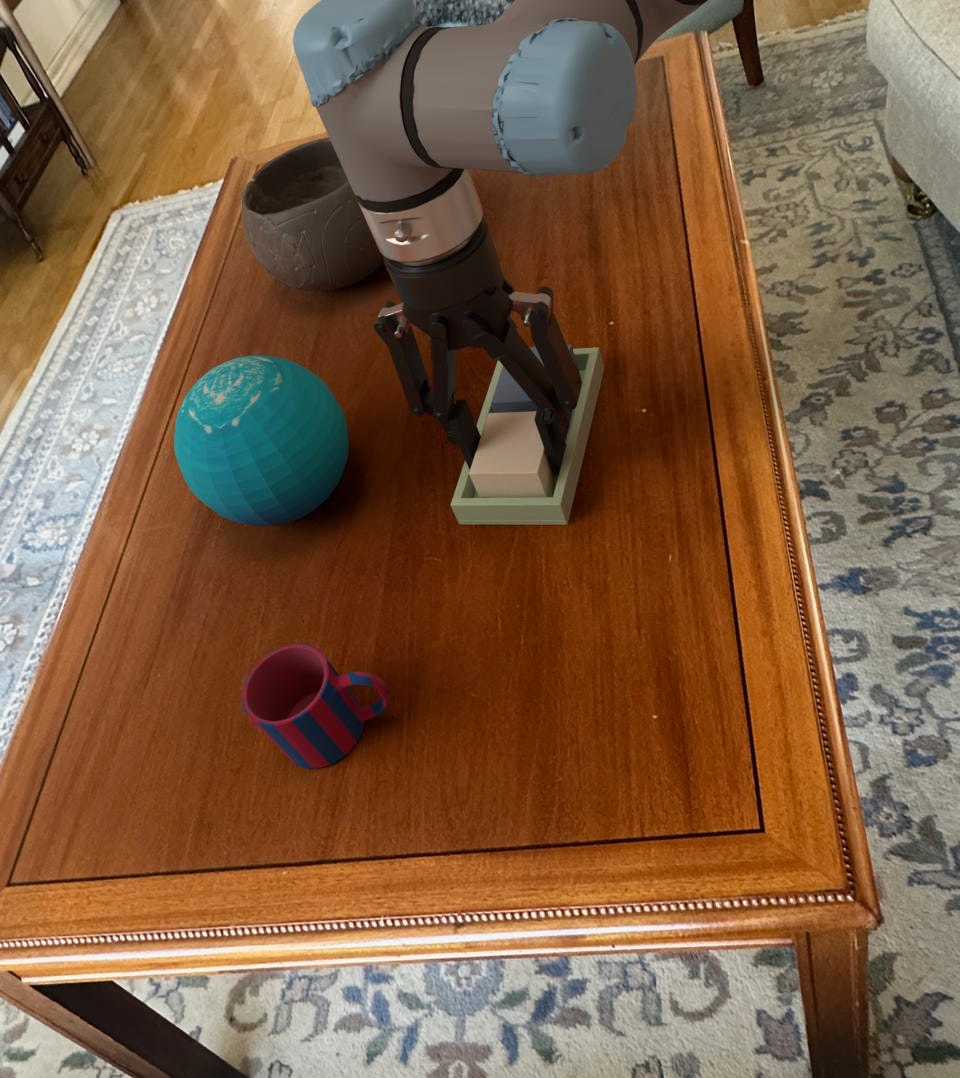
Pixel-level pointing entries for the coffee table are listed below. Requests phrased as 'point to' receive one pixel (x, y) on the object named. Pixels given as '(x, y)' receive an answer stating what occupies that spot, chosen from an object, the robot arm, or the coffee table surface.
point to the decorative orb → (261, 440)
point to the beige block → (511, 459)
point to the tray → (560, 503)
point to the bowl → (308, 221)
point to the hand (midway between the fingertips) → (519, 463)
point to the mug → (309, 704)
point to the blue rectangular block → (517, 392)
